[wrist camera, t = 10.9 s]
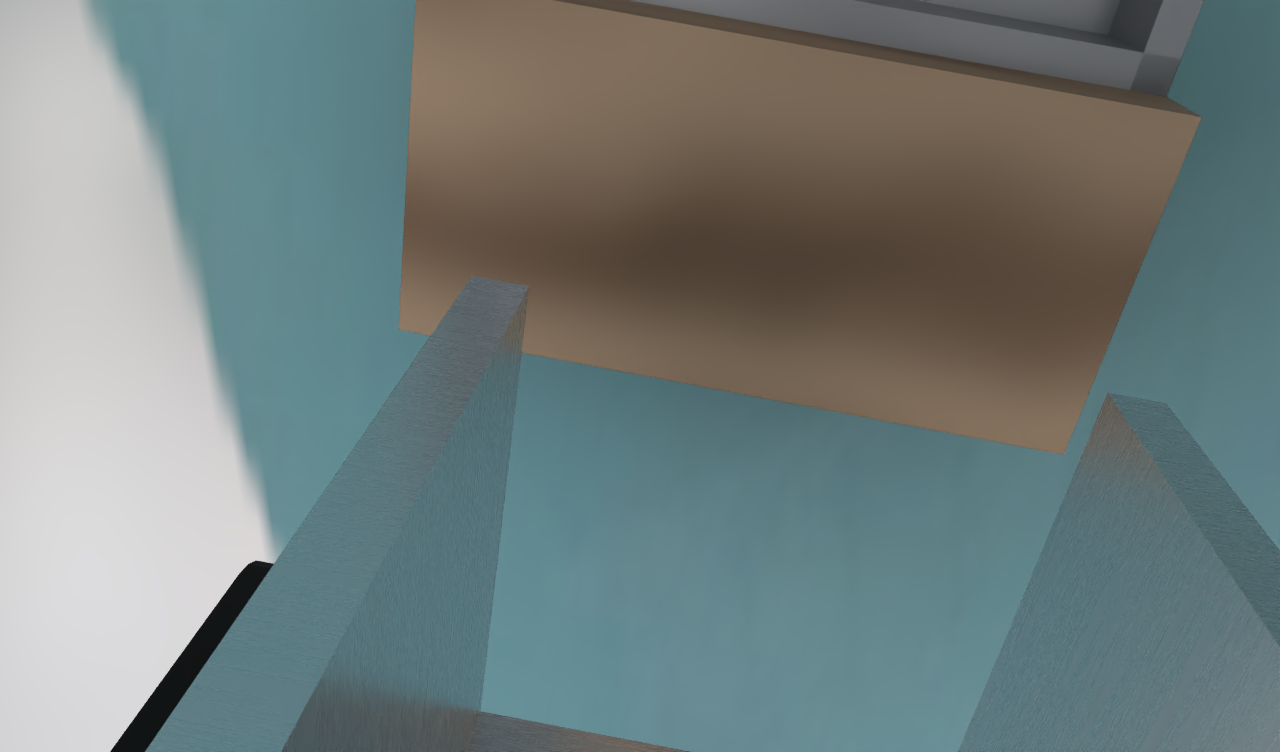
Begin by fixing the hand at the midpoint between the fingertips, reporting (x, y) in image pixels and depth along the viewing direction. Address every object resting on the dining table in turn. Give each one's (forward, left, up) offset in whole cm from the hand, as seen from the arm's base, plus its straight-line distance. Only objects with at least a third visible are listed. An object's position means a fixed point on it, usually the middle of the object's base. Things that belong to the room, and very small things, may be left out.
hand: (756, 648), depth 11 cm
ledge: (0, 0, -18) cm, 18 cm away
